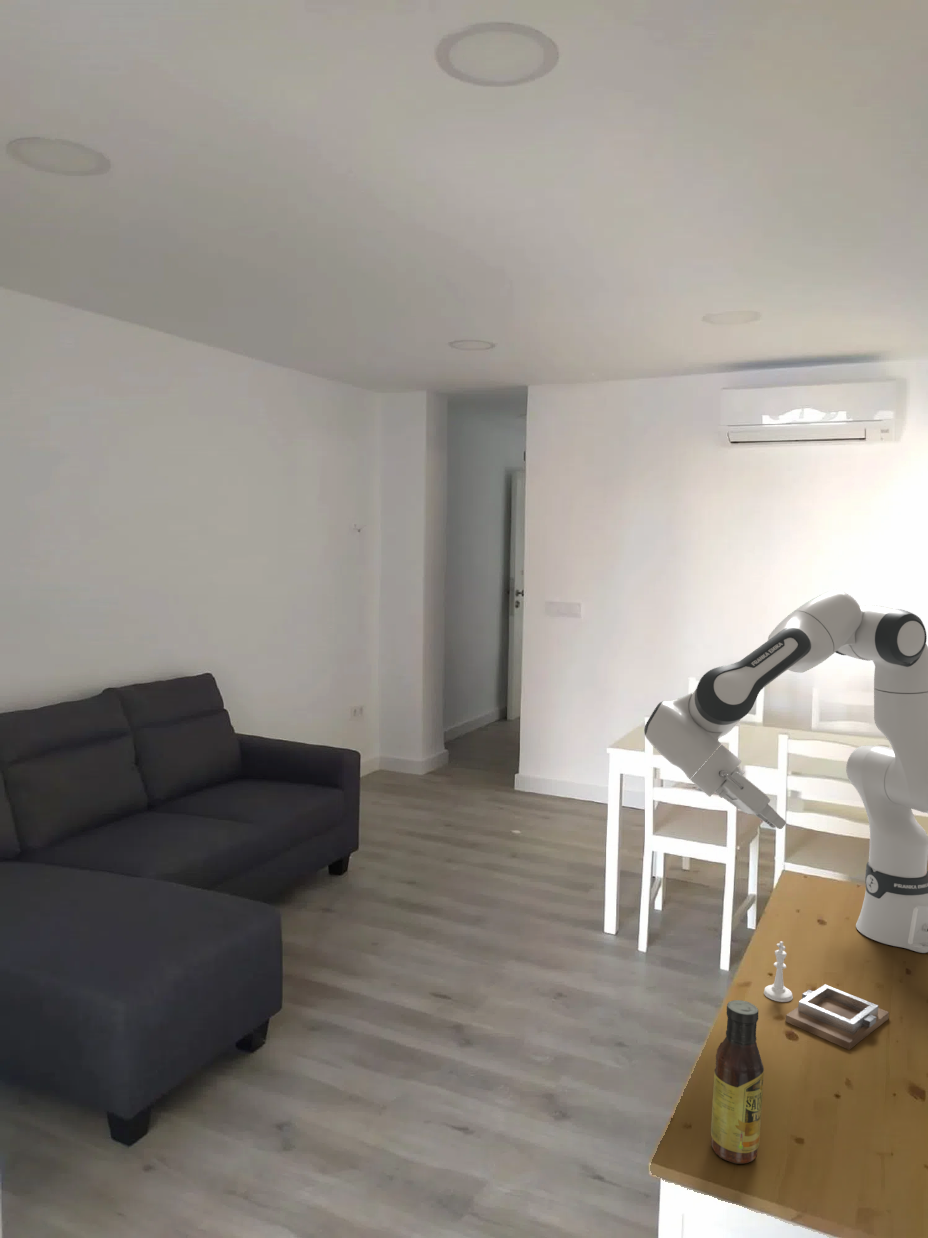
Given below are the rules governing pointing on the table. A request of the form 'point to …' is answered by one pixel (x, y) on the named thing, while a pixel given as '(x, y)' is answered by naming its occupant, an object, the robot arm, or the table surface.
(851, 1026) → the square frame tray
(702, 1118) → the table surface
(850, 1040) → the socket board
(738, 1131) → the sauce bottle
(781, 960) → the chess piece
